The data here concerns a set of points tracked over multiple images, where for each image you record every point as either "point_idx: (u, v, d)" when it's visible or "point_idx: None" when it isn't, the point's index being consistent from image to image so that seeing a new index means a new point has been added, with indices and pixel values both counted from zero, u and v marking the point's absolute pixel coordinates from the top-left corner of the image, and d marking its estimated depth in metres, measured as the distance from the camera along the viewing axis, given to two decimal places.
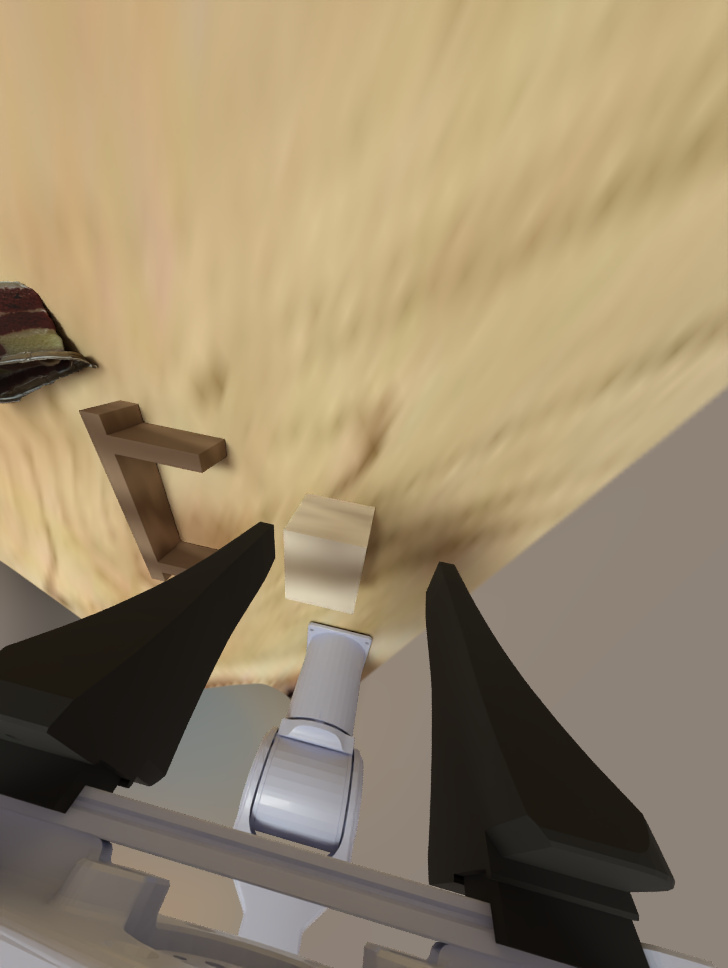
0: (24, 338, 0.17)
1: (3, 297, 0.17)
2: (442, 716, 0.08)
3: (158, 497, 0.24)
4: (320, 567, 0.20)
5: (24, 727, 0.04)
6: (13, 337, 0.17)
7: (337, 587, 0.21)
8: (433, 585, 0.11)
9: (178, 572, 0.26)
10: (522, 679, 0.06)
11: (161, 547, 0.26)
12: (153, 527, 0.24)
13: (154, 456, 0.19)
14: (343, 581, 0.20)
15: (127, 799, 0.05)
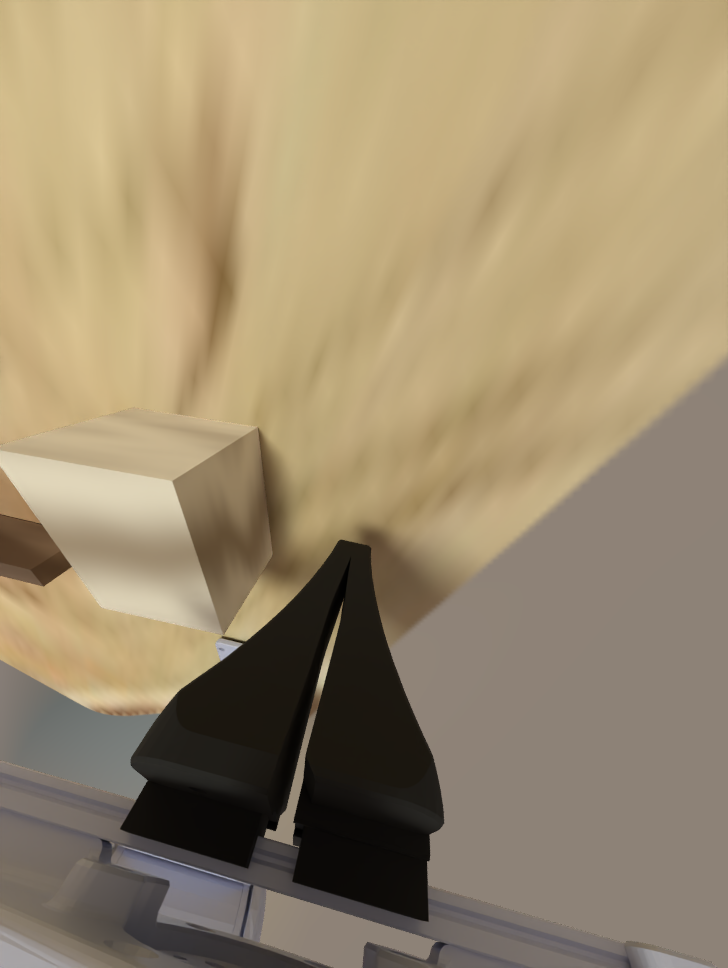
0: None
1: None
2: None
3: None
4: (114, 540, 0.09)
5: (239, 788, 0.04)
6: None
7: (170, 583, 0.10)
8: None
9: None
10: (384, 645, 0.07)
11: None
12: None
13: None
14: (171, 568, 0.09)
15: (127, 799, 0.05)
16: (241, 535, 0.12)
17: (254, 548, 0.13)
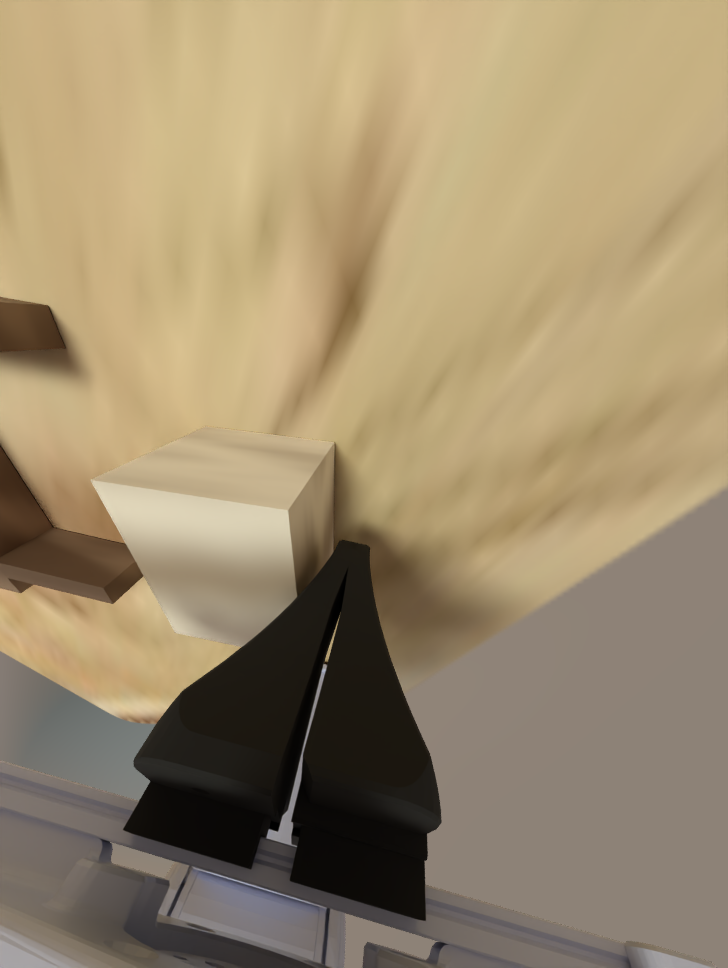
0: None
1: None
2: None
3: None
4: (207, 568, 0.09)
5: (243, 789, 0.04)
6: None
7: (257, 609, 0.10)
8: None
9: (31, 578, 0.15)
10: (382, 645, 0.07)
11: (0, 535, 0.15)
12: None
13: None
14: (263, 595, 0.09)
15: (127, 799, 0.05)
16: (319, 556, 0.11)
17: None
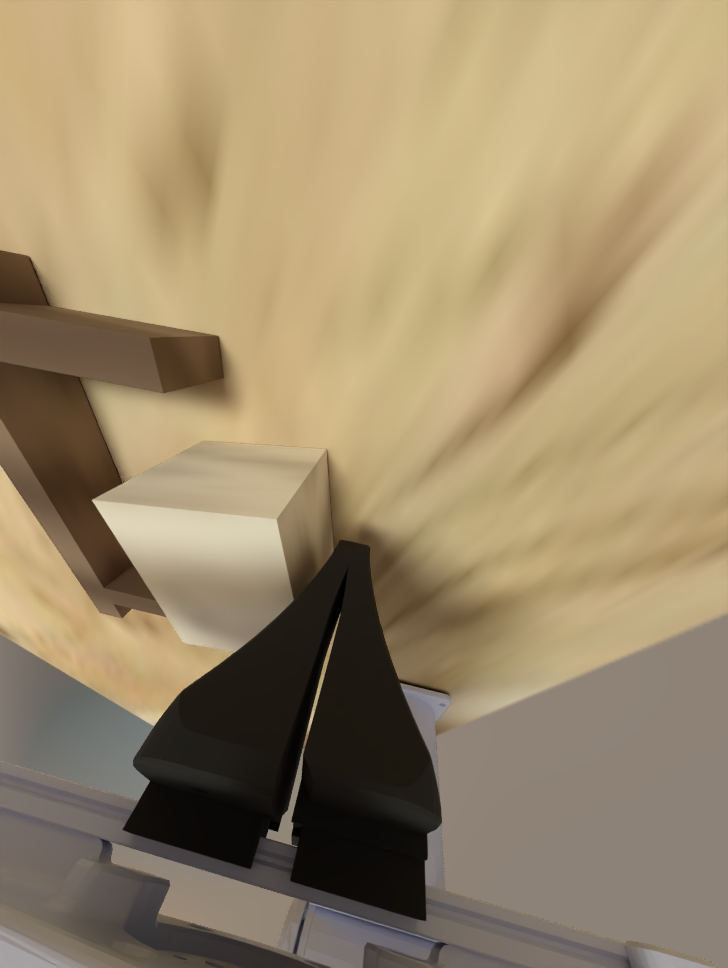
0: None
1: None
2: None
3: (98, 471, 0.13)
4: (207, 579, 0.09)
5: (243, 789, 0.04)
6: None
7: (258, 617, 0.10)
8: None
9: (141, 605, 0.15)
10: (382, 645, 0.07)
11: (111, 561, 0.15)
12: (90, 526, 0.13)
13: (48, 353, 0.08)
14: (262, 603, 0.09)
15: (127, 799, 0.05)
16: (317, 561, 0.11)
17: None
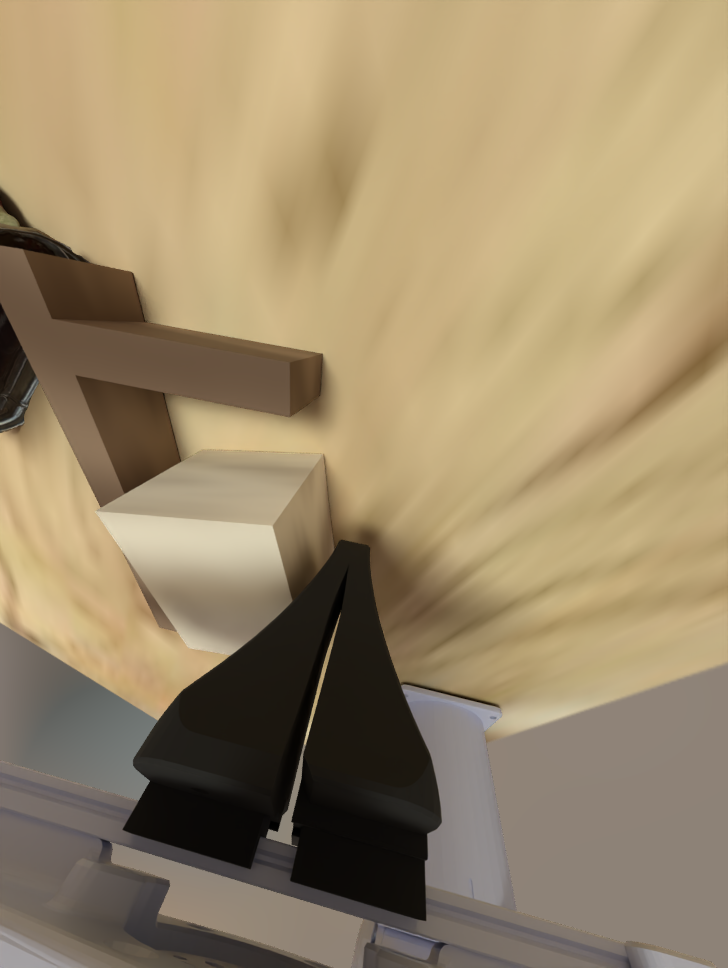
0: None
1: None
2: None
3: None
4: (209, 585, 0.09)
5: (243, 789, 0.04)
6: None
7: (260, 622, 0.10)
8: None
9: None
10: (382, 645, 0.07)
11: None
12: None
13: (172, 376, 0.08)
14: (262, 607, 0.10)
15: (127, 799, 0.05)
16: (317, 565, 0.12)
17: None
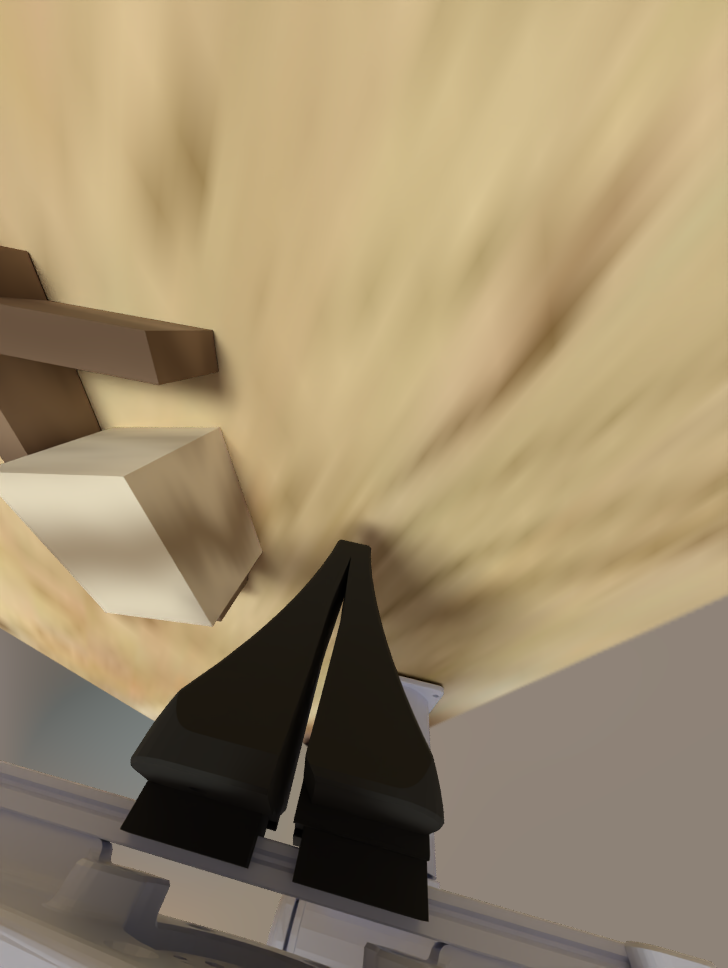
0: None
1: None
2: None
3: None
4: (96, 543, 0.10)
5: (239, 788, 0.04)
6: None
7: (152, 579, 0.11)
8: None
9: None
10: (384, 645, 0.07)
11: None
12: None
13: (47, 346, 0.08)
14: (149, 563, 0.10)
15: (127, 799, 0.05)
16: (218, 530, 0.12)
17: (237, 543, 0.14)
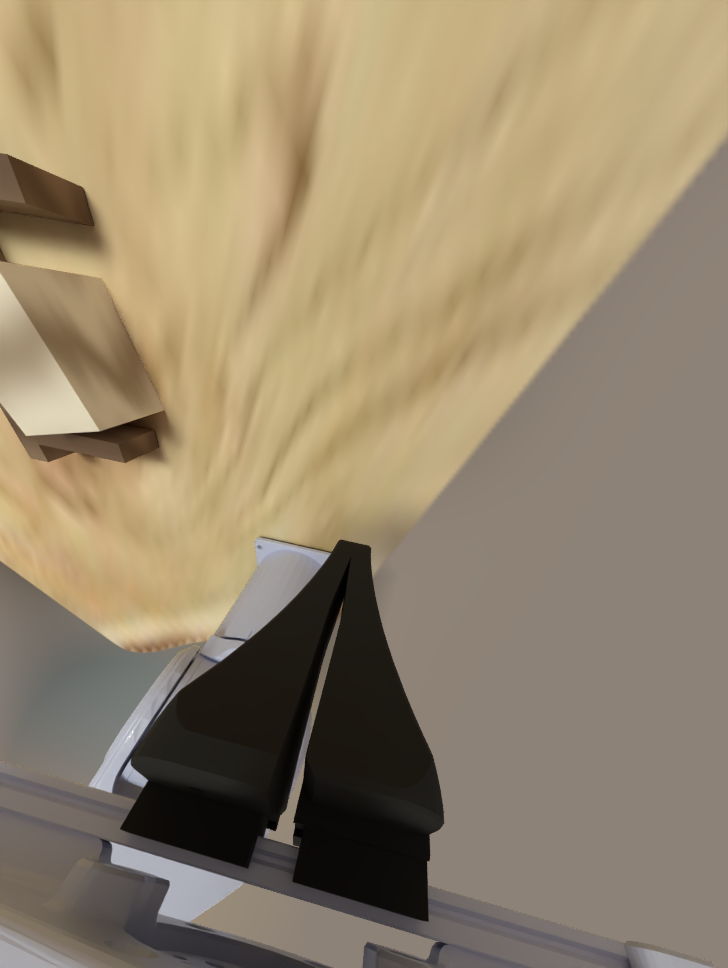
0: None
1: None
2: None
3: None
4: None
5: (240, 788, 0.04)
6: None
7: (43, 379, 0.14)
8: None
9: (58, 441, 0.19)
10: (384, 645, 0.07)
11: None
12: None
13: None
14: (35, 360, 0.14)
15: (127, 799, 0.05)
16: (103, 359, 0.16)
17: (128, 383, 0.17)
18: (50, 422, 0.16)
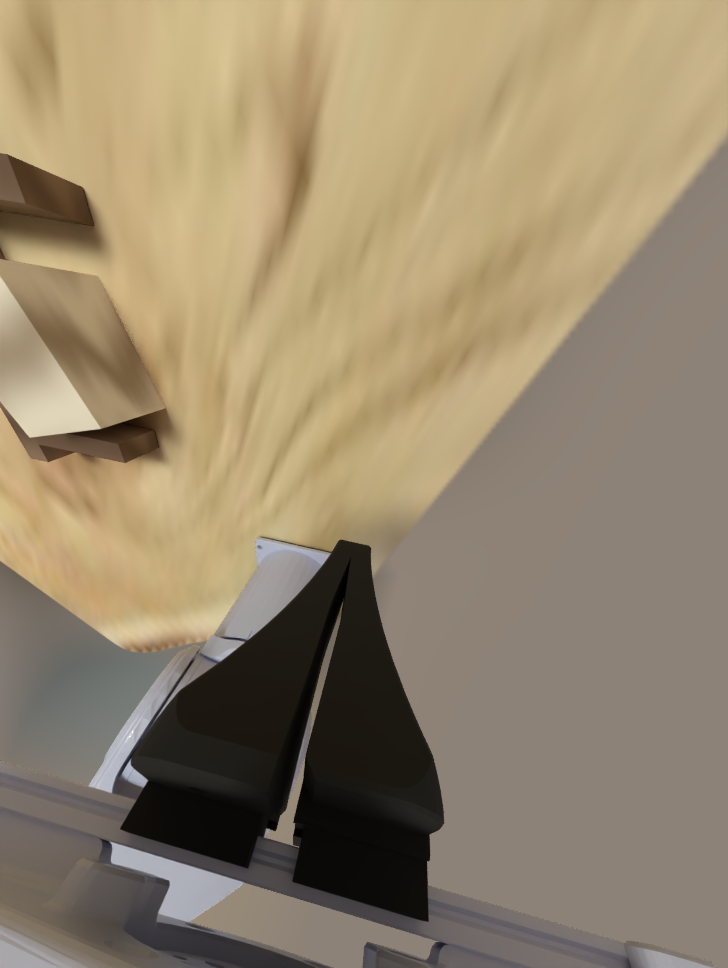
0: None
1: None
2: None
3: None
4: None
5: (240, 788, 0.04)
6: None
7: (43, 378, 0.14)
8: None
9: (58, 441, 0.19)
10: (384, 645, 0.07)
11: None
12: None
13: None
14: (34, 358, 0.14)
15: (127, 799, 0.05)
16: (102, 357, 0.16)
17: (129, 381, 0.17)
18: (52, 422, 0.16)
